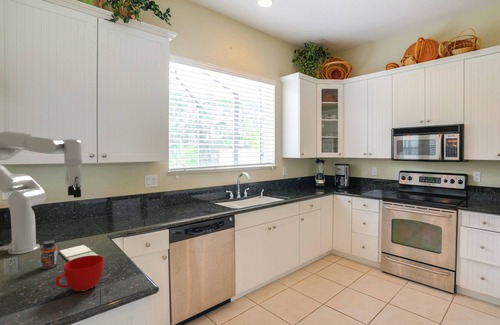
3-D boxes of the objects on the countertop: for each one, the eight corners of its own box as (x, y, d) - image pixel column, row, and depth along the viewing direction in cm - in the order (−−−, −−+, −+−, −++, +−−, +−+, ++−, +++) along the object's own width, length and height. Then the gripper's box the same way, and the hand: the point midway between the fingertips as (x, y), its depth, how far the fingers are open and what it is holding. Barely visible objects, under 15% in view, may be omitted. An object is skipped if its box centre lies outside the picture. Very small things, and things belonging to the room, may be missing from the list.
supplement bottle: (38, 270, 115) (38, 245, 114) (43, 265, 120) (42, 240, 120) (55, 268, 117) (54, 243, 117) (59, 263, 123) (58, 239, 122)
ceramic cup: (44, 298, 93) (43, 270, 93) (88, 277, 109) (88, 253, 109) (69, 306, 89) (68, 277, 88) (112, 282, 105) (111, 257, 104)
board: (75, 268, 117) (75, 265, 117) (59, 252, 135) (59, 249, 135) (102, 260, 126) (102, 257, 125) (84, 246, 144) (84, 244, 143)
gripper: (60, 163, 139) (61, 195, 140) (69, 164, 128) (70, 199, 129) (76, 162, 145) (77, 193, 146) (87, 163, 134) (88, 197, 134)
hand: (74, 196), depth 137 cm, fingers open, 9 cm apart
